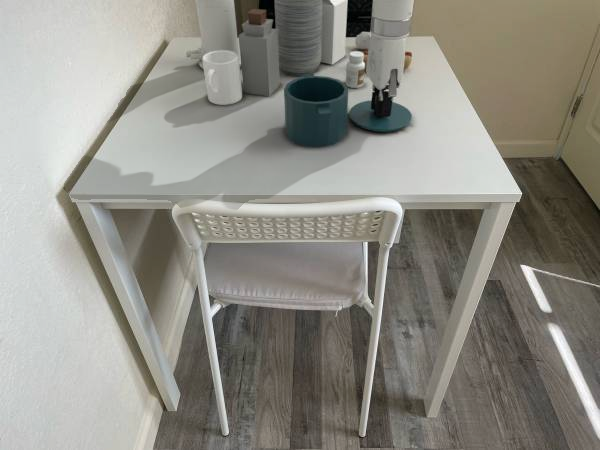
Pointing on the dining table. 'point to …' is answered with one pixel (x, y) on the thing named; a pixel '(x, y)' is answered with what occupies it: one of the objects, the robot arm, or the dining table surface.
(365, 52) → the food
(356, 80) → the pill bottle
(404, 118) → the lid
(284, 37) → the vase
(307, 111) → the pot
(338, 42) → the milk carton
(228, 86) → the mug
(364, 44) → the figurine
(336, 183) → the dining table surface
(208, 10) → the robot arm
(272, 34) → the perfume bottle
